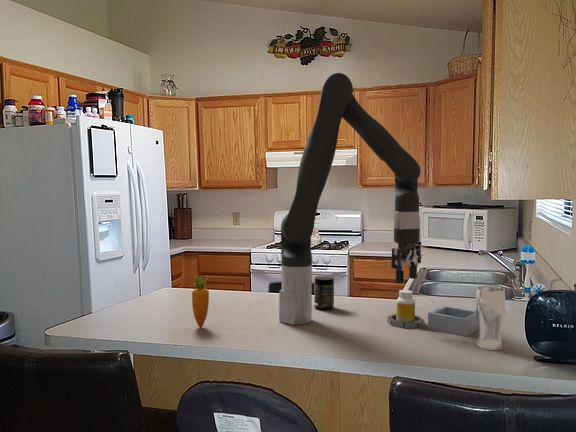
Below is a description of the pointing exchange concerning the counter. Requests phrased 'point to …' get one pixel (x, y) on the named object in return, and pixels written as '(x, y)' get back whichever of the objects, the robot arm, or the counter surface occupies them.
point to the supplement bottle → (405, 306)
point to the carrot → (200, 301)
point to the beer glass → (490, 316)
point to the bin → (453, 320)
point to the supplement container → (324, 292)
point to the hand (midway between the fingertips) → (406, 280)
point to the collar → (394, 322)
